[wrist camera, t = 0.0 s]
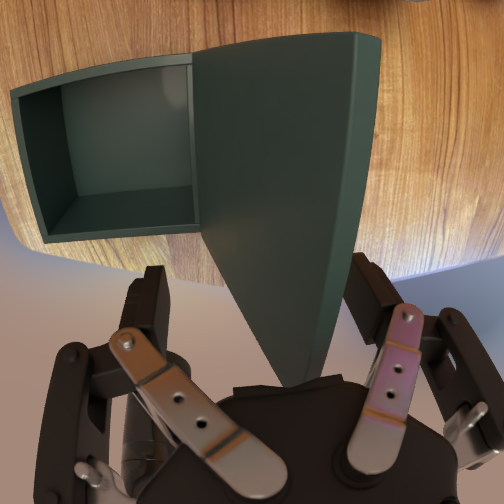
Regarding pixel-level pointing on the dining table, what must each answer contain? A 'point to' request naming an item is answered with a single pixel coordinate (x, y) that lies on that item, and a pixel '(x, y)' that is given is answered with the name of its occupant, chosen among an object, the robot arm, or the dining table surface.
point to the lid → (285, 181)
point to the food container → (416, 0)
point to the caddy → (110, 150)
